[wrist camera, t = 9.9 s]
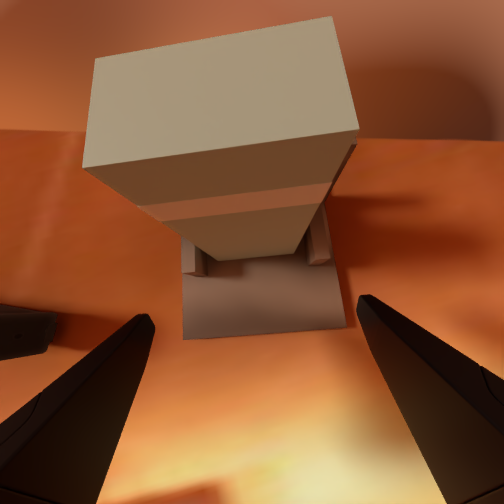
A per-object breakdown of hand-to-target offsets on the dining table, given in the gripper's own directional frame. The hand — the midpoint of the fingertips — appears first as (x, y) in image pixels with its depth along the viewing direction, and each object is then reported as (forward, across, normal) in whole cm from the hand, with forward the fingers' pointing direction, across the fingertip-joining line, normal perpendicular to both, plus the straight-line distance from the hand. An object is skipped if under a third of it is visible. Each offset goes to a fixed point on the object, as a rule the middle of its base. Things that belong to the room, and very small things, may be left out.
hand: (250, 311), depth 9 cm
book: (+10, 0, +2) cm, 10 cm away
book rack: (+9, 0, +3) cm, 10 cm away
